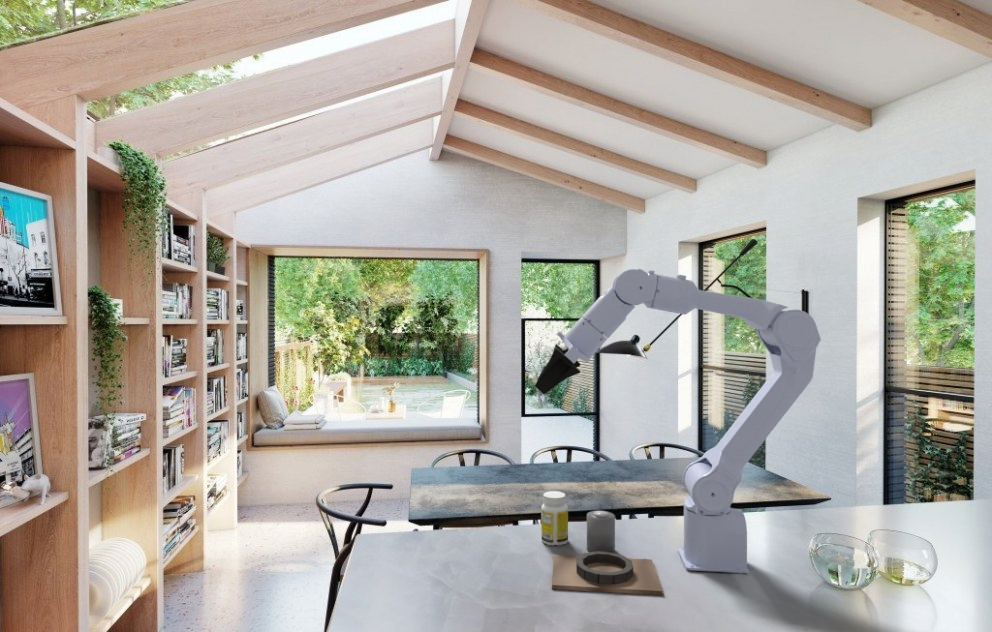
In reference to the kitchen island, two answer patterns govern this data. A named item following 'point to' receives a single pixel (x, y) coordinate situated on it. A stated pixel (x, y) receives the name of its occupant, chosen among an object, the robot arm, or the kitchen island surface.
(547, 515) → the supplement bottle
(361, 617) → the kitchen island surface
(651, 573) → the ring board
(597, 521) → the cap
